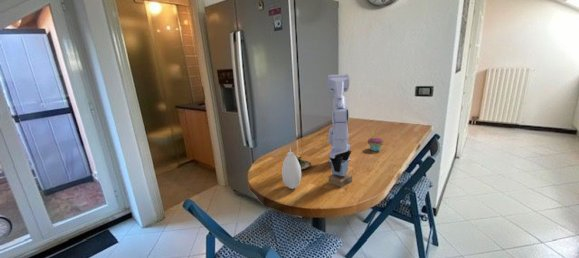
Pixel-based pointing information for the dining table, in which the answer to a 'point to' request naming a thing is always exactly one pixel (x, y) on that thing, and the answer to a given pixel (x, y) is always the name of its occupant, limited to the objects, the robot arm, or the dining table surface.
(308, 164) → the salad bowl
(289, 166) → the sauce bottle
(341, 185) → the walnut block
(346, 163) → the blue cube
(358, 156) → the dining table surface
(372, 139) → the cupcake
